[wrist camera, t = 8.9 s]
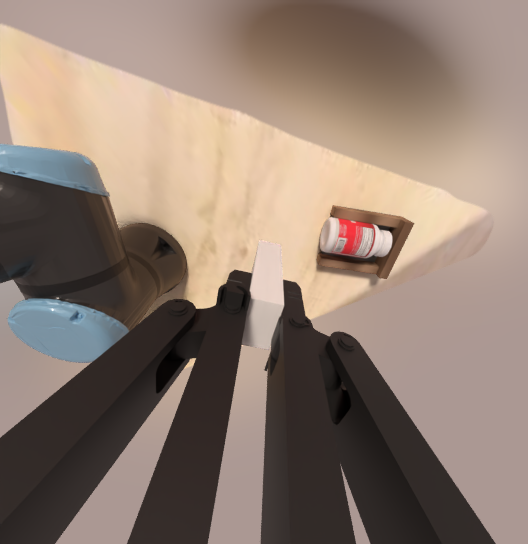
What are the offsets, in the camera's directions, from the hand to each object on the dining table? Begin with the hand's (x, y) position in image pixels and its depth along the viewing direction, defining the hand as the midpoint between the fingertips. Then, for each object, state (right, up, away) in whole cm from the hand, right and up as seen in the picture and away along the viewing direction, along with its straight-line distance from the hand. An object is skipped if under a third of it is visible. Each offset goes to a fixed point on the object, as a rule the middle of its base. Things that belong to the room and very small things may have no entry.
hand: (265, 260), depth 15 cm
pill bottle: (+10, +6, +24) cm, 27 cm away
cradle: (+17, +6, +28) cm, 33 cm away
